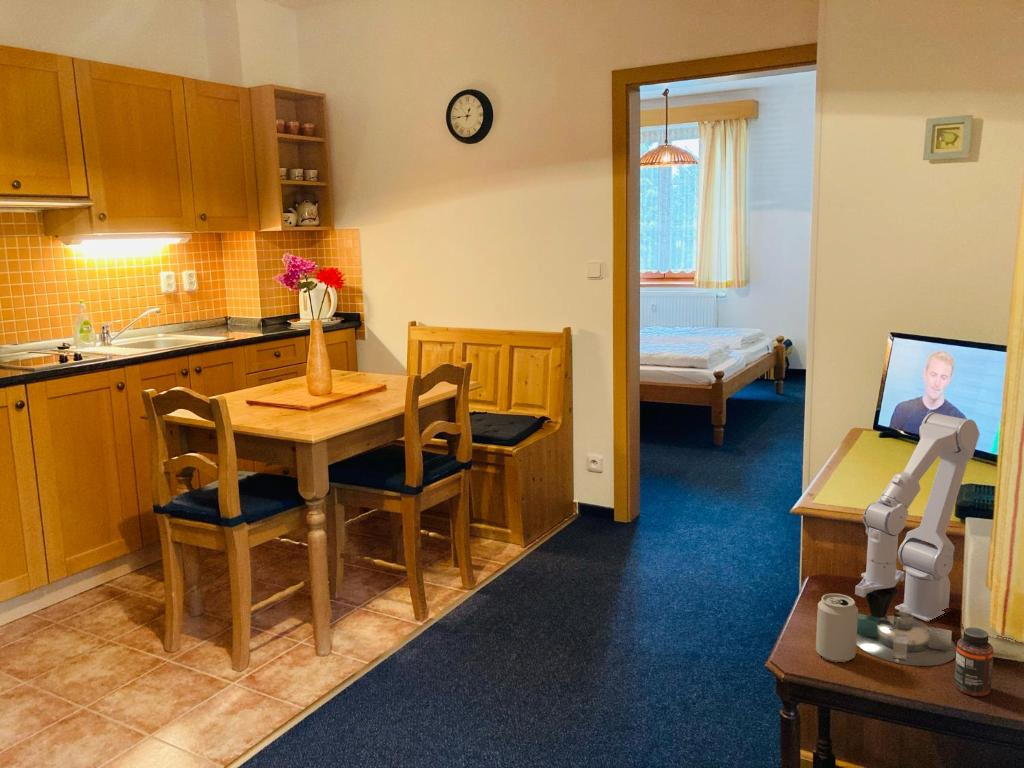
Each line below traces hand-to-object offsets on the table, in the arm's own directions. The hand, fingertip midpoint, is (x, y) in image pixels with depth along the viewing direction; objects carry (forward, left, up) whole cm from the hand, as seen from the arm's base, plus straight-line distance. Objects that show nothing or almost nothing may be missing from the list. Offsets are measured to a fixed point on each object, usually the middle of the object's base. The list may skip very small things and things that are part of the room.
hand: (877, 619), depth 181 cm
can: (+18, +3, -2) cm, 18 cm away
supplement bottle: (+8, +25, -2) cm, 26 cm away
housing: (+2, +7, -2) cm, 7 cm away
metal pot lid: (+2, +7, -2) cm, 7 cm away
